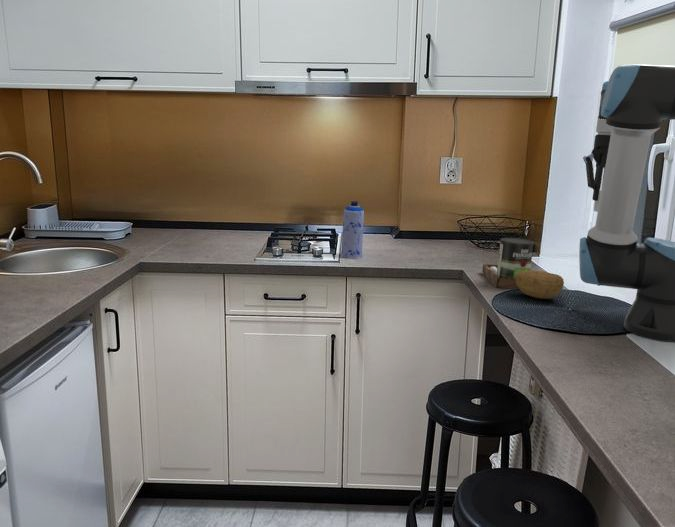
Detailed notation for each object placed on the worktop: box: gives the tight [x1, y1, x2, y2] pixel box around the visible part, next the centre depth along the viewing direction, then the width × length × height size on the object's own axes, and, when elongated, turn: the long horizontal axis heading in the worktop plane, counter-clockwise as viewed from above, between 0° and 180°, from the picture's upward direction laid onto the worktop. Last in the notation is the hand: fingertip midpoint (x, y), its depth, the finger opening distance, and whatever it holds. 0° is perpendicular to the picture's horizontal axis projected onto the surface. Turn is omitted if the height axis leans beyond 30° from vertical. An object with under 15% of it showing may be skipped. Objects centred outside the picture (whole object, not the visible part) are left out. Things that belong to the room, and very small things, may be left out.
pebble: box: [490, 266, 497, 275], centre depth 210 cm, size 3×3×3 cm
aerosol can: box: [340, 200, 365, 260], centre depth 225 cm, size 8×8×20 cm
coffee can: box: [496, 237, 535, 279], centre depth 199 cm, size 10×10×14 cm
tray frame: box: [482, 263, 520, 290], centre depth 204 cm, size 19×14×3 cm
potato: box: [515, 269, 565, 300], centre depth 185 cm, size 10×14×8 cm
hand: (597, 211), depth 196 cm, fingers closed
